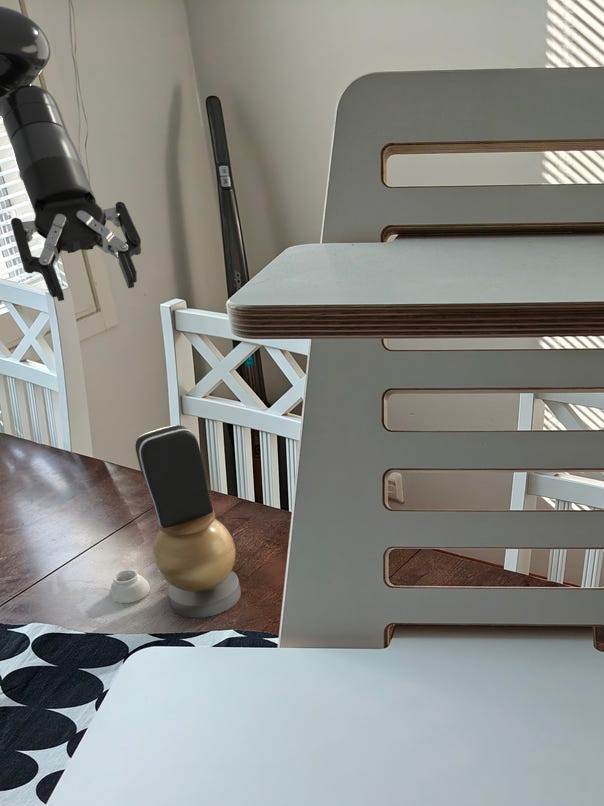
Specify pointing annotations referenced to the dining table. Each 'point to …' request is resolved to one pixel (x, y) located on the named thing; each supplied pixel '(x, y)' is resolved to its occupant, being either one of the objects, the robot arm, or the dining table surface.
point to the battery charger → (174, 474)
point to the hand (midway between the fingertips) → (96, 291)
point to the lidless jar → (128, 587)
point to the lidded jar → (198, 566)
